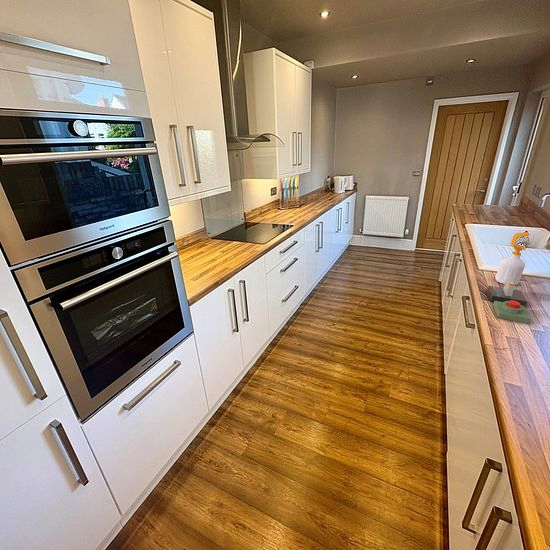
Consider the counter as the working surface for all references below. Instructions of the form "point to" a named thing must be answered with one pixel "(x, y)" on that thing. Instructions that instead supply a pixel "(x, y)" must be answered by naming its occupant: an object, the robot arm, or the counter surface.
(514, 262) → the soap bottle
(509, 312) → the button box
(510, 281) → the tap handle
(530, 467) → the counter surface
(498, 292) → the plate
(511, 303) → the button
